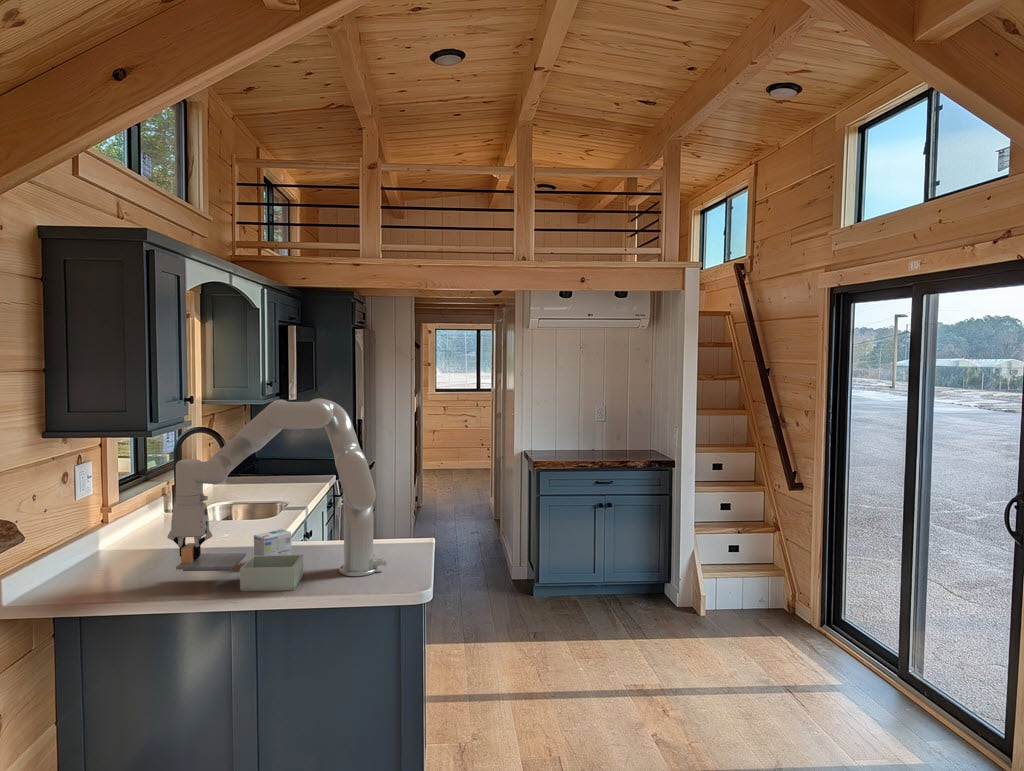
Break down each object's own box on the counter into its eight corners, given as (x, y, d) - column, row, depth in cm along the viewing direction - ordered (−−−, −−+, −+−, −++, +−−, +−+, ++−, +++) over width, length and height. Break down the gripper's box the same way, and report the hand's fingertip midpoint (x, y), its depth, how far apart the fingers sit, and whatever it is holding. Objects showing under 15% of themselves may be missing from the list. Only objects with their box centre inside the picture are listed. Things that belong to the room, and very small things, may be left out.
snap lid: (246, 558, 222) (246, 539, 222) (232, 572, 209) (232, 551, 208) (192, 559, 221) (192, 539, 221) (175, 572, 207) (175, 552, 207)
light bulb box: (281, 558, 243) (281, 528, 242) (292, 562, 238) (292, 531, 238) (253, 566, 234) (252, 534, 234) (264, 570, 230) (263, 538, 229)
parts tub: (303, 578, 224) (303, 554, 224) (294, 592, 211) (294, 567, 211) (252, 579, 223) (252, 555, 222) (240, 594, 210) (239, 568, 209)
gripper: (221, 497, 218) (221, 554, 219) (167, 497, 216) (167, 555, 217) (212, 502, 210) (213, 562, 211) (156, 502, 209) (157, 562, 210)
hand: (190, 558), depth 214 cm, fingers closed on snap lid, 3 cm apart
